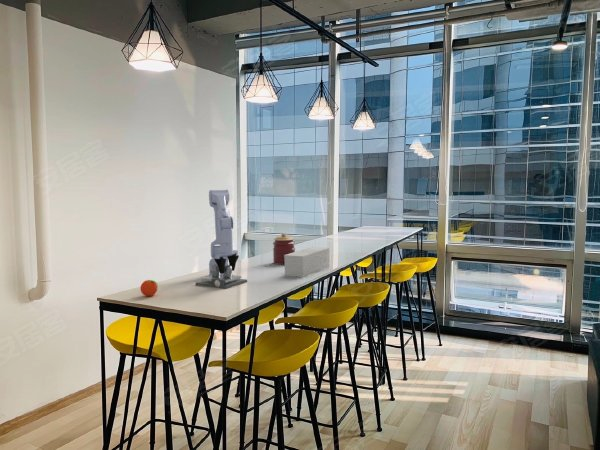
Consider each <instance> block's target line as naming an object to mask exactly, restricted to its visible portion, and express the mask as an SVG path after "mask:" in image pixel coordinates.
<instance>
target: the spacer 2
mask: <svg viewBox="0 0 600 450" xmlns="http://www.w3.org/2000/svg"><path fill="white" fill-rule="evenodd" d="M232 275H233V271H232V266H231V265H229V264H228V265H226V266H225V272H224V274H223V278H225V279H228V278H232Z"/></svg>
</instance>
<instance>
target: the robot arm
mask: <svg viewBox="0 0 600 450" xmlns="http://www.w3.org/2000/svg"><path fill="white" fill-rule="evenodd" d="M208 201H209V207H211V208H213V212H214V226H215V227H214V229H215V230H214V231H215V239H214V240H213V241H212V242H211V244H210V257H211V259H210V260H209V263H208V266H209V267H208V269H209V271H208V272H209V274H208V276H211V275H212V267H211V265H214V264H217V265H218V268H219V272H220V274H224V272H225V266H226V265H231V266H232V272H234V271H235V269H236V265H237V261H238V259H239V257H240V256H239V255H238V254H239V252H238V250H234V249H233V246H234V245H233V229H234V219H233V217H232V216H231V213H230V210H229V208H228V205H229V202H230V191H229V190H228V189H209V191H208Z"/></svg>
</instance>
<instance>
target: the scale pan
mask: <svg viewBox="0 0 600 450" xmlns="http://www.w3.org/2000/svg"><path fill="white" fill-rule="evenodd" d="M211 279H221V280H225V283H227V282H230V281H233V280H236V279H242V275H235V274H232V278H228V279H225V278H223V274H220V277H212V275H211V276H209V275H208V276H205V277H201V281H203V280H204V281H211Z"/></svg>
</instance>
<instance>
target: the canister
mask: <svg viewBox="0 0 600 450" xmlns="http://www.w3.org/2000/svg"><path fill="white" fill-rule="evenodd" d="M273 240H274V241H273V243H272V245H273V248H272V249H273V255H272V256H273V260H272V261H273V264H275V265H285V262H284V255H287V254H290V253H293V252H296V248H295V243H296V242H295V241H294V238H293V237H292V236H288V235H287V234H286V233H285V232H282V233H281V236H280V235H279V236H276V237H275V238H274V239H273Z"/></svg>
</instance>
